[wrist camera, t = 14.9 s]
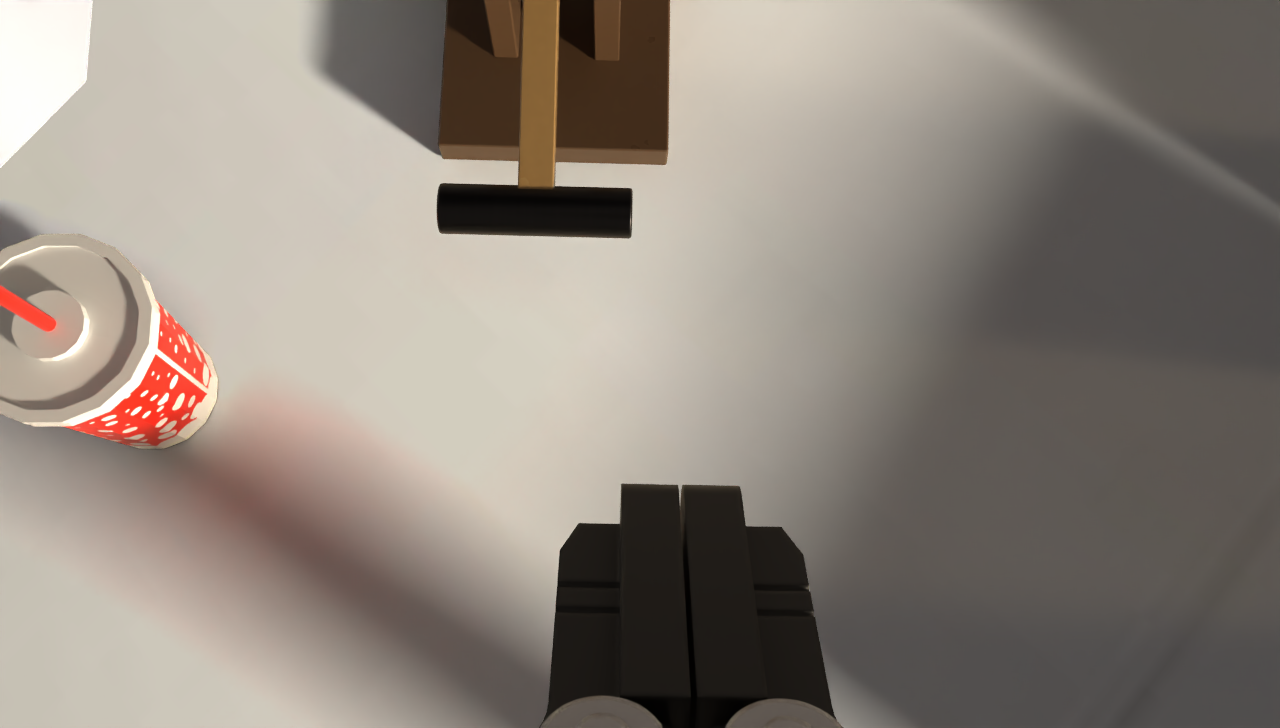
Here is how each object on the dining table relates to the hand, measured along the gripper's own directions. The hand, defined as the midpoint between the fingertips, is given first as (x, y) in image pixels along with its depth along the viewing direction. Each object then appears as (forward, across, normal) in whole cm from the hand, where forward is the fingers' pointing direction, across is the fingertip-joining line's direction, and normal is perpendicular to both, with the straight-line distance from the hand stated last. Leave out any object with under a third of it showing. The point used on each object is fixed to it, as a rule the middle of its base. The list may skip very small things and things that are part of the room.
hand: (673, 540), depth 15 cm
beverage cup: (+27, +18, +16) cm, 36 cm away
